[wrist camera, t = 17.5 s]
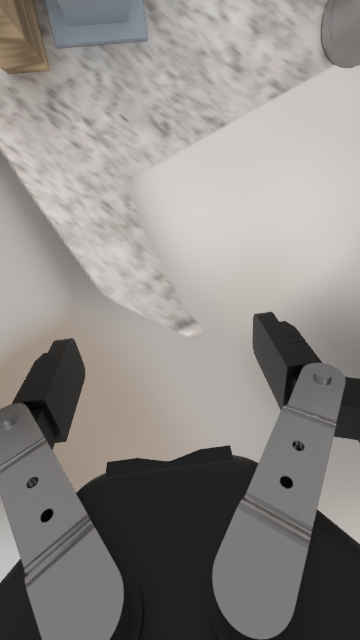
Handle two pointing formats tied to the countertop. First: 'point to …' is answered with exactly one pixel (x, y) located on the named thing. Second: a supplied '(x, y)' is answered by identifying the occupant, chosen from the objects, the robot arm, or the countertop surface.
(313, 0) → the countertop surface
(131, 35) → the blue grey stand
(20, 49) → the oak post
